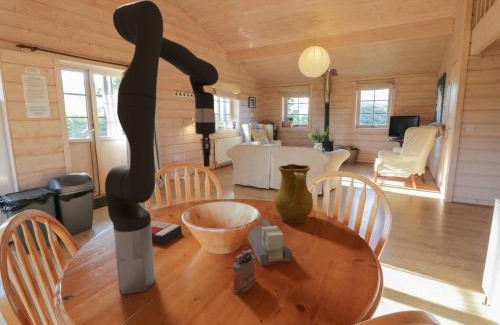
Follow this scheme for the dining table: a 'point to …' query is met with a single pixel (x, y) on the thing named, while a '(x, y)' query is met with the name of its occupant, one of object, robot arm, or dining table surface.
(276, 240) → the block
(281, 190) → the pitcher
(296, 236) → the dining table surface
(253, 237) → the chute
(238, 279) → the lighter
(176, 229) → the dark box
